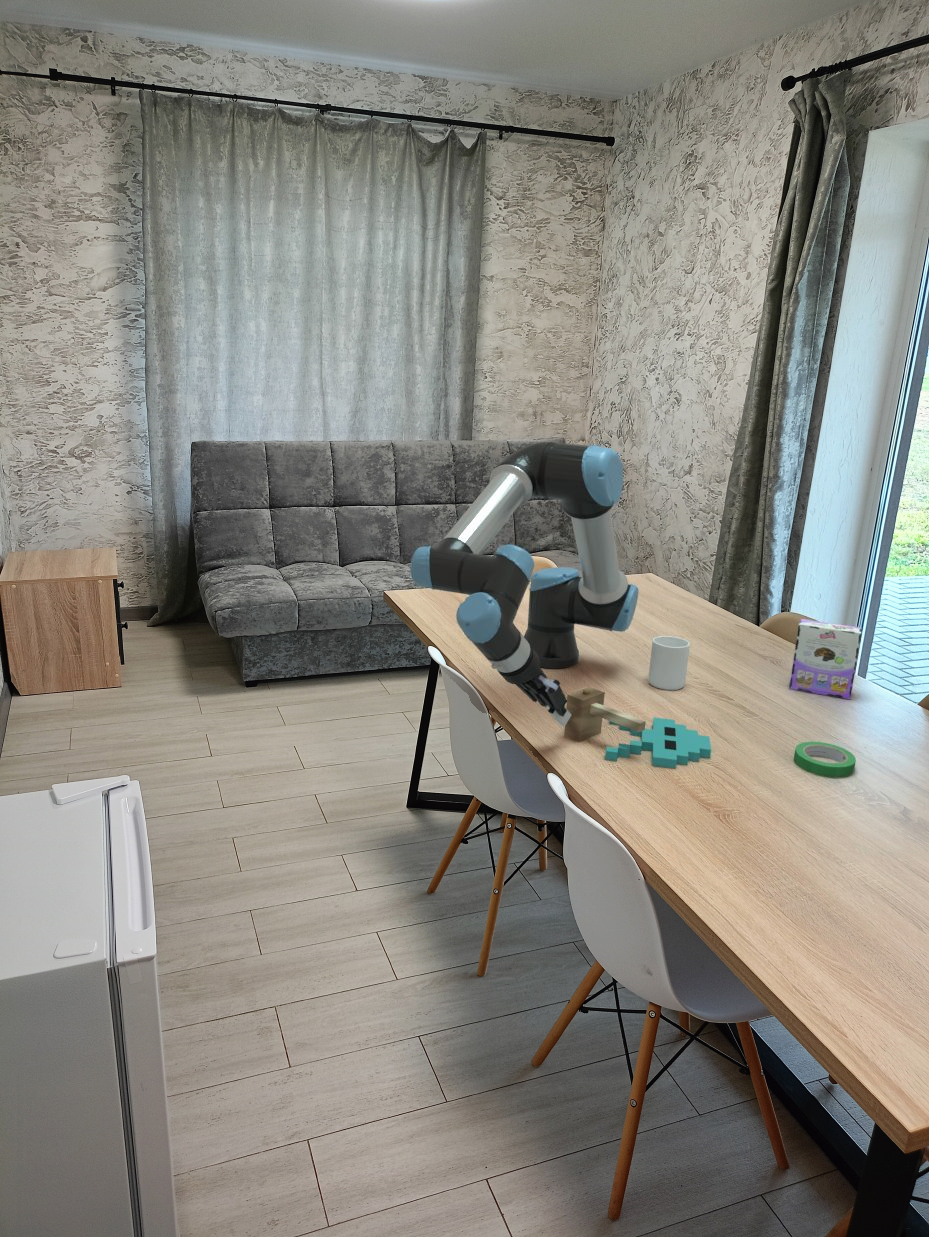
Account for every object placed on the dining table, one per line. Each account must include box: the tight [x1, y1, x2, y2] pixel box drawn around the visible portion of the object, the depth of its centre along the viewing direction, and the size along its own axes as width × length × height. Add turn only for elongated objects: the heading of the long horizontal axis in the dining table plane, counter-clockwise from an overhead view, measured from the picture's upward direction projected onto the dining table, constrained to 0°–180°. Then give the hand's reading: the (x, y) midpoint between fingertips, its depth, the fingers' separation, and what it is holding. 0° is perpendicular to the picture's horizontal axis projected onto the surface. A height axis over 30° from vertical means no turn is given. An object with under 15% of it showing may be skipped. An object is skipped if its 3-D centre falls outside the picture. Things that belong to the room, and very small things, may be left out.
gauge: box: [563, 686, 647, 743], centre depth 180 cm, size 16×7×10 cm, turn 44°
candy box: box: [788, 618, 863, 700], centre depth 213 cm, size 14×6×16 cm, turn 65°
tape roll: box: [793, 741, 857, 779], centre depth 176 cm, size 11×11×3 cm
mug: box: [648, 635, 691, 691], centre depth 215 cm, size 9×12×11 cm
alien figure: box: [604, 717, 712, 769], centre depth 182 cm, size 20×2×20 cm
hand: (565, 719), depth 179 cm, fingers closed
